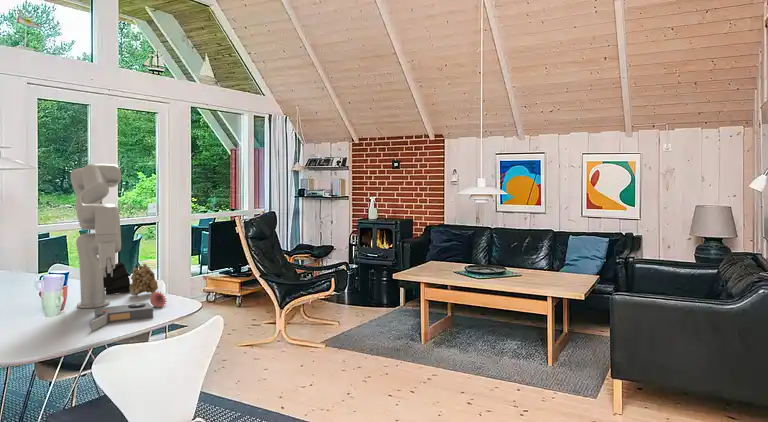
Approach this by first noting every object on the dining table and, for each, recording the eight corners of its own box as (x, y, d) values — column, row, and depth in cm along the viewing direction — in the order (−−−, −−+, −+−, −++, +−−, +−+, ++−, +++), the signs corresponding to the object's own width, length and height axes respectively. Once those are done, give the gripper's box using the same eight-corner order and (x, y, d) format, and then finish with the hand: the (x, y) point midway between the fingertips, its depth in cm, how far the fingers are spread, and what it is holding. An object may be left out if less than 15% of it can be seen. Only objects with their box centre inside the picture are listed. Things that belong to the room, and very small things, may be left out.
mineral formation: (126, 295, 267) (125, 264, 266) (154, 291, 277) (153, 261, 276) (134, 298, 262) (132, 266, 261) (162, 293, 271) (161, 262, 270)
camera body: (94, 317, 225) (94, 306, 225) (148, 311, 236) (148, 300, 235) (97, 324, 215) (96, 313, 215) (153, 317, 225) (152, 306, 225)
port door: (108, 323, 216) (108, 313, 216) (93, 331, 205) (93, 320, 205) (104, 323, 216) (103, 313, 216) (89, 331, 205) (89, 320, 205)
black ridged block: (138, 288, 277) (122, 261, 272) (111, 302, 270) (95, 276, 266) (136, 286, 280) (121, 261, 275) (110, 301, 273) (94, 275, 269)
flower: (146, 292, 246) (152, 286, 243) (163, 297, 251) (170, 291, 248) (144, 308, 241) (150, 302, 239) (162, 312, 246) (168, 307, 243)
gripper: (94, 237, 214) (95, 285, 215) (96, 241, 201) (98, 292, 203) (116, 235, 218) (117, 283, 219) (120, 239, 205) (121, 289, 206)
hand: (108, 287), depth 211 cm, fingers closed
